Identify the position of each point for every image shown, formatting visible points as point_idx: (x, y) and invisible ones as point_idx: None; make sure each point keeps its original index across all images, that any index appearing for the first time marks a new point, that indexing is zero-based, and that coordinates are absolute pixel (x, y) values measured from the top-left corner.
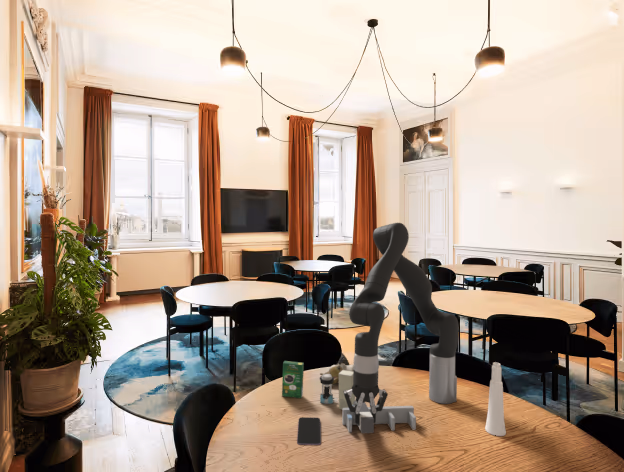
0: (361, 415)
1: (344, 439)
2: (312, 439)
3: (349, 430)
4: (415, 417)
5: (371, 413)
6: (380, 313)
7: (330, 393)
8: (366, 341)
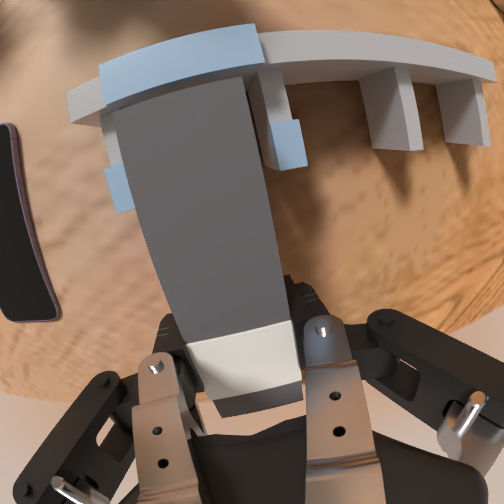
0: (215, 384)
1: (134, 265)
2: (28, 296)
3: None
4: (489, 145)
5: (299, 363)
6: None
7: None
8: None
